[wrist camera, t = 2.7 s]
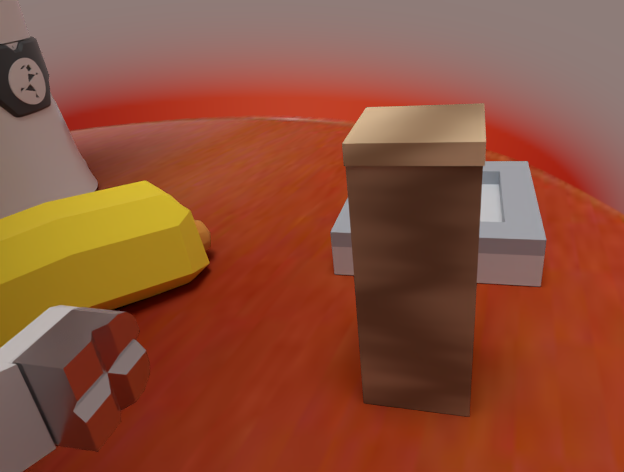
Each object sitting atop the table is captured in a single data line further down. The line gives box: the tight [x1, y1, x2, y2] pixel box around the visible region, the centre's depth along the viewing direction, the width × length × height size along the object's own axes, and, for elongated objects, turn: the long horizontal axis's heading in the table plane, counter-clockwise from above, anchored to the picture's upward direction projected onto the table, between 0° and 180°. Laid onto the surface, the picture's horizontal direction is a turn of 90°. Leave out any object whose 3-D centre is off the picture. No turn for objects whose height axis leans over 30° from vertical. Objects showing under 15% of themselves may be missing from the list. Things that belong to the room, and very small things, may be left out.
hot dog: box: [0, 180, 211, 348], centre depth 31 cm, size 18×7×8 cm
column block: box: [342, 104, 486, 417], centre depth 22 cm, size 5×5×12 cm
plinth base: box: [331, 161, 546, 287], centre depth 35 cm, size 12×12×3 cm
